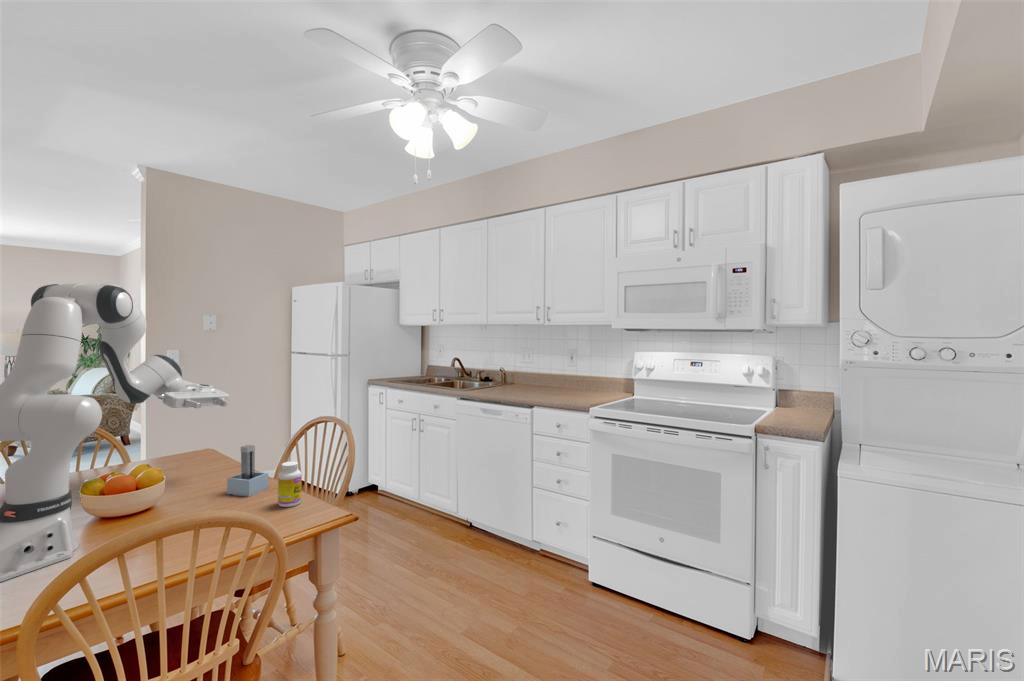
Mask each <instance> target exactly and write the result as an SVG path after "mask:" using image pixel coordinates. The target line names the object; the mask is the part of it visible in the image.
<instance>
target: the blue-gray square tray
mask: <svg viewBox="0 0 1024 681" xmlns="http://www.w3.org/2000/svg"><path fill="white" fill-rule="evenodd" d="M226 482H227V483H226V485H227V488H226V489H227V495H230V494H233V495H232V496H238V497H239V496H241V497H249V498H250V497H252V496H255V495H256V494H259V493H260V492H263V491H265V490H268V489H269V472H264V471H263V472H262V471H255V478H252V479H250V480H247V479H241V472H240V473H238V474H236V475H233V476H231V477H228V478H227V479H226Z"/></svg>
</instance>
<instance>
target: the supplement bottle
mask: <svg viewBox="0 0 1024 681" xmlns="http://www.w3.org/2000/svg"><path fill="white" fill-rule="evenodd" d="M298 468H299V462H298V461H285V462H283V463H281V470H282V471H280V472H279V473H278V476H277V490H278V492H277V503H278V506H279V507H283V508H290V507H291V508H292V507H295V506H298V505H300V503H301V502H302V472H301V470H299V469H298Z"/></svg>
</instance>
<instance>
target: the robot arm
mask: <svg viewBox="0 0 1024 681" xmlns="http://www.w3.org/2000/svg"><path fill="white" fill-rule="evenodd" d="M30 307H31V308H30V310H29V312H28V314H27V316H26V319H25V322H24V323H23V324H24V325H23V328H22V331H21V336H20V340H19V344H18V348H17V352H16V356H15V358H14V362H13V365H12V368H11V370H10V371H9V373H8V375H7V376H6V377H5V379H4V380H3V381H2V382H1V383H0V442H19V441H20V442H22V441H25V442H26V441H27V442H28V441H31V445H30V449H29V452H28V454H27V455H24V456H22V457H20V458H18V459H17V460H15V461H13V462H12V463H11V464H10V465H9V466H8V467H7V469H6V470H5V472H4V487H5V490H4V492H5V496H4V497H5V501H4V502H3V503H2V505H1V507H0V583H1V582H4V581H7V580H10V579H13V578H16V577H18V576H22V575H25V574H27V573H29V572H33V571H36V570H39V569H41V568H45V567H47V566H50V565H53V564H55V563H58V562H61V561H62V562H63V561H64V560H68V559H70V558H72V556H73V555H74V554H73V552H74V551H75V550H76V549H77V548H78V547H79V546H80V543H79V540H78V539H77V536H76V533H75V530H74V525H73V521H72V513H71V510H72V506H73V500H72V499H73V496H72V495H73V494H72V490H70V466H71V460H72V457H73V455H74V453H75V451H76V449H77V447H78V446H79V444H80V443H81V442H82V441H83V440H84V439H85V438H87V437H89V436H90V435H92V434H93V433H94V432H95V431H97V429H98V428H99V426H100V424H101V422H102V418H103V409H102V407H101V405H100V403H99V402H98V401H97V400H96V399H95V398H93V397H89V396H85V395H84V396H83V395H77V394H71V393H68V394H67V393H65V394H64V393H63V394H62V393H61V394H48V393H49V391H50V390H51V389H52V387H53V386H55V385H56V384H58V382H60V381H63V380H65V379H67V378H69V377H70V376H72V375H73V374H74V373H75V372H76V370H77V367H78V362H79V357H80V356H79V355H80V351H81V344H82V336H83V325H98V326H99V328H100V330H101V340H100V341H99V345H98V350H99V352H100V356H101V357H102V360H103V363H104V365H105V368H106V370H107V372H108V374H109V376H110V379H111V381H112V385H113V390H114V392H115V394H116V395H117V396H118V398H119V399H120V400H122V402H125V403H126V404H129V405H131V404H132V405H134V404H135V405H136V404H143V403H144V402H145V401H147V399H148V398H150V397H151V395H154V396H156V397H157V399H159V400H161V401H162V403H163V404H164V405H166V406H167V407H170V408H174V409H178V408H179V409H180V408H184V409H187V408H193V409H194V408H195V409H201V408H202V407H208V406H209V407H210V406H211V407H212V406H220V407H224V408H225V407H227V406H228V403H229V401H230V395H229V393H227V392H225V391H223V390H220V389H217V388H214V386H213V385H211V384H202V383H196V382H191V381H189V380H184V379H182V378H183V373H182V369H181V367H180V365H179V364H178V363H177V362H176V361H175V360H174V359H172V358H171V357H169V356H166V355H163V354H153V355H152V356H150V357H149V358H147V359H146V360H145V361H143V362H142V363H140V364H139V365H138V366H136V367H135V368H134V369H132V370H131V371H130V370H129V367H128V365H127V362H126V361H127V357H128V356H129V354H130V352H131V351H132V350H133V348H134V347H135V345H136V344H138V342H139V341H140V340H142V338H143V337H144V335H145V333H146V331H147V327H148V324H147V319H146V317H145V315H144V313H143V311H142V310H141V308H140V306H139V305H138V304H137V303H136V301H135V299H133V298H132V296H131V294H130V293H129V292H128V291H127V290H126V289H125V288H123V287H121V286H120V285H118V284H115V283H101V284H88V283H66V284H65V283H63V284H57V283H55V284H53V283H52V284H47V285H43V286H40V287H38V288H37V289H36V290H35V291H34V292H33V293H32V296H31V299H30Z"/></svg>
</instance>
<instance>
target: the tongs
mask: <svg viewBox="0 0 1024 681" xmlns="http://www.w3.org/2000/svg"><path fill="white" fill-rule="evenodd" d="M255 451H256V445H253V444H246V445H242V446H240V456H241V457H240V465H241V466H240V468H241V469H240V470H241V471H240V473H241V479H247V480H250V479H252V478H255V472H256V471H255V470H256V469H255V466H256V465H255V456H256V455H255V454H256V452H255Z"/></svg>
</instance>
